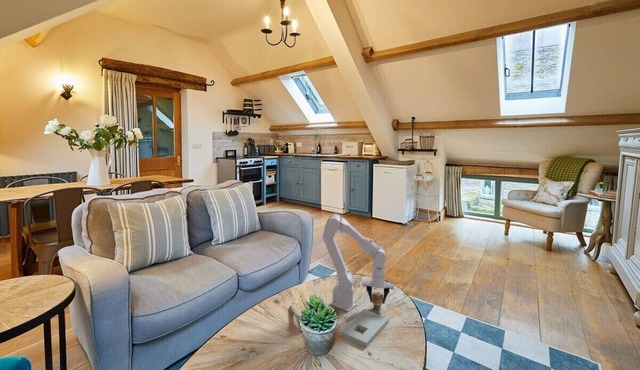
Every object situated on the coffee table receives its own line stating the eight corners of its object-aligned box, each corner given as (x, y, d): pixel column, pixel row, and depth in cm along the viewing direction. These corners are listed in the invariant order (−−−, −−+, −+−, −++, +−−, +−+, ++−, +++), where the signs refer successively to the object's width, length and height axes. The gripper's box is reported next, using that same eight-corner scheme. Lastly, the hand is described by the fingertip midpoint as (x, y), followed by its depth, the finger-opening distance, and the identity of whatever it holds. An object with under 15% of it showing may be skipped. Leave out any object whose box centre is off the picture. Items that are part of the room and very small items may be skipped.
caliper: (302, 332, 128) (302, 318, 127) (300, 333, 128) (300, 319, 126) (291, 306, 147) (291, 294, 146) (289, 306, 147) (289, 294, 146)
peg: (369, 308, 145) (370, 295, 144) (374, 304, 149) (375, 291, 148) (379, 312, 142) (380, 298, 141) (384, 307, 146) (384, 294, 145)
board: (339, 335, 126) (340, 330, 125) (364, 312, 142) (364, 308, 141) (366, 347, 119) (366, 342, 118) (388, 322, 134) (388, 318, 134)
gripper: (394, 272, 145) (393, 299, 147) (363, 269, 148) (362, 295, 150) (394, 279, 138) (393, 307, 140) (362, 276, 141) (361, 303, 143)
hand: (377, 301), depth 145 cm, fingers open, 5 cm apart
